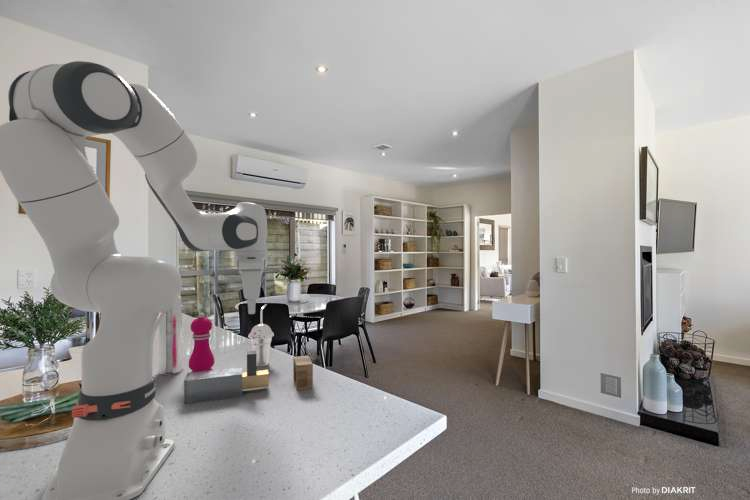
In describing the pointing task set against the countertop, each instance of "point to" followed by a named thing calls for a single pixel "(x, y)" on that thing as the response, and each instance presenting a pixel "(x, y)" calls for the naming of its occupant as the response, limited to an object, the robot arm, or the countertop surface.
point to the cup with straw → (261, 341)
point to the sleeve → (212, 385)
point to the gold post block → (254, 374)
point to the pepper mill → (201, 345)
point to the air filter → (171, 340)
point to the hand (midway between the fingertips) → (251, 310)
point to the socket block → (302, 372)
